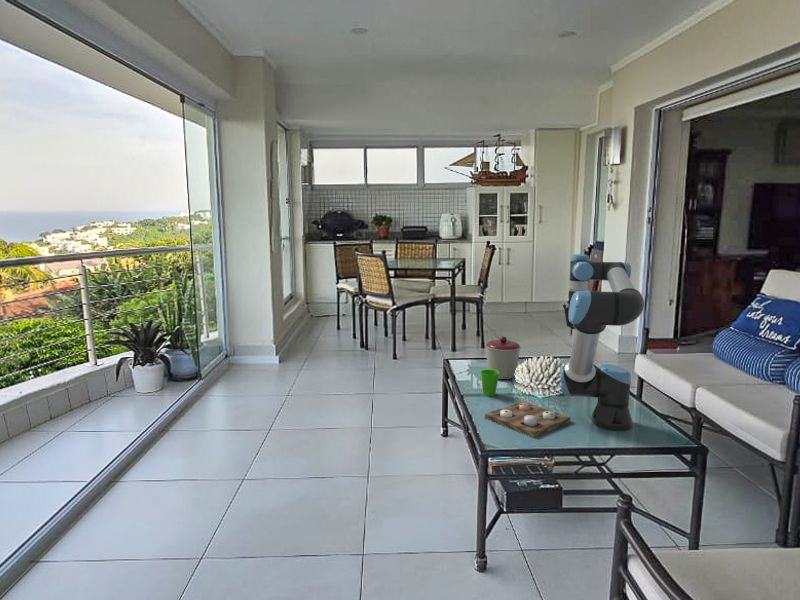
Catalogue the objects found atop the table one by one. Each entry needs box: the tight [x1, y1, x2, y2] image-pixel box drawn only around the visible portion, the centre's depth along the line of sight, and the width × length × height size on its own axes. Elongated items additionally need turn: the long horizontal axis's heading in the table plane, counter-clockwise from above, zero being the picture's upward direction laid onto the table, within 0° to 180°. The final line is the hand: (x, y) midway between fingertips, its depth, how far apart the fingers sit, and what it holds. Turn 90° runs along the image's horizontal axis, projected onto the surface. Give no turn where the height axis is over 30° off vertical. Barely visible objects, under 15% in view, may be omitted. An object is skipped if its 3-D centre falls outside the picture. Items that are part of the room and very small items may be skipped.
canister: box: [484, 335, 522, 380], centre depth 275 cm, size 18×18×21 cm
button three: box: [519, 402, 531, 412], centre depth 228 cm, size 5×5×3 cm
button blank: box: [524, 415, 537, 428], centre depth 211 cm, size 5×5×3 cm
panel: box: [484, 400, 571, 438], centre depth 220 cm, size 24×24×2 cm
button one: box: [500, 410, 512, 419], centre depth 221 cm, size 5×5×3 cm
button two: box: [543, 410, 555, 421], centre depth 219 cm, size 5×5×3 cm
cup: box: [479, 368, 500, 397], centre depth 249 cm, size 9×9×11 cm
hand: (574, 343), depth 239 cm, fingers closed
